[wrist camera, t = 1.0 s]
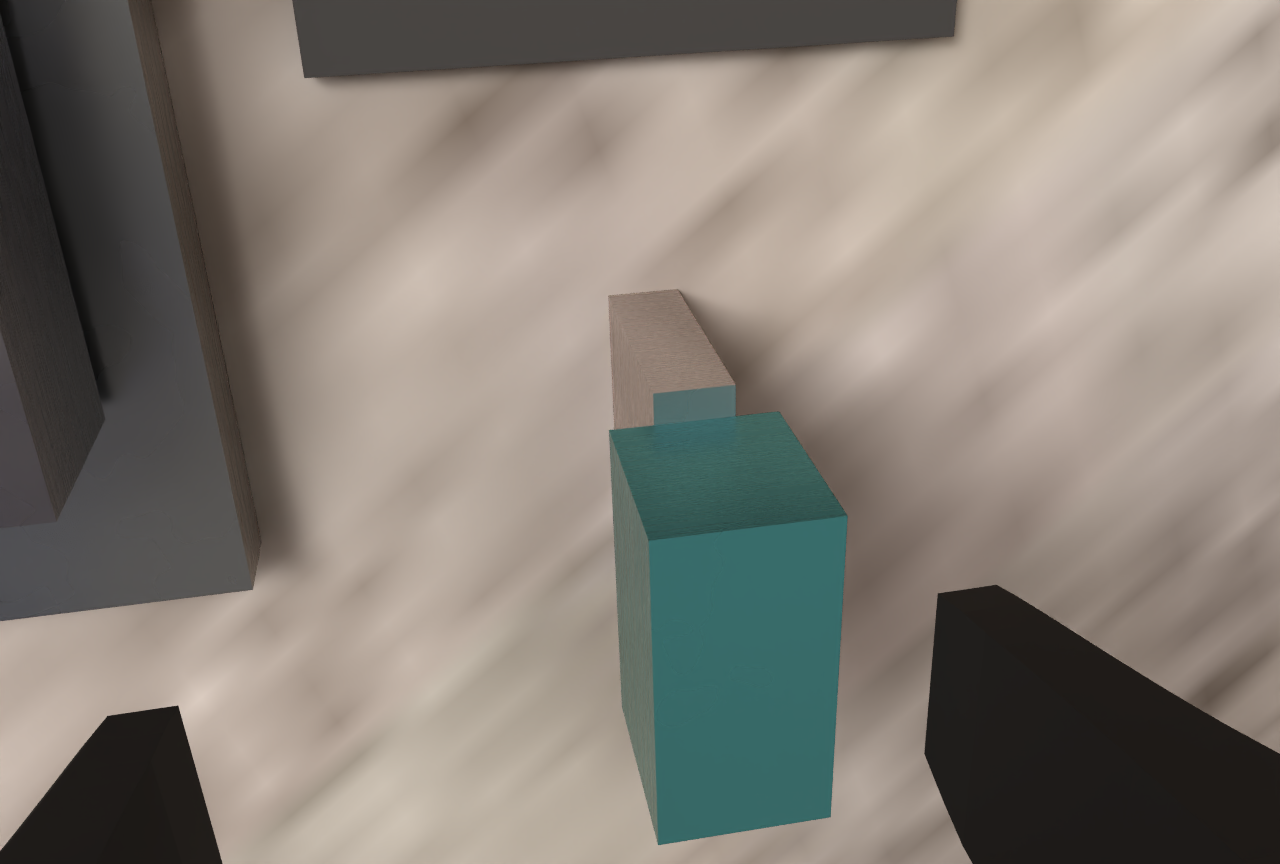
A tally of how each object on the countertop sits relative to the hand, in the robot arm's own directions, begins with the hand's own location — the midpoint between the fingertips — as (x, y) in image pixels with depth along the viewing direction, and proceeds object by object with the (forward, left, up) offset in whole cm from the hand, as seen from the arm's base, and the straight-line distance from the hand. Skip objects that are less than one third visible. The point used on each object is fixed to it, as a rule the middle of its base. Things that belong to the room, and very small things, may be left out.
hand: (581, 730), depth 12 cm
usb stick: (-3, -2, -10) cm, 11 cm away
